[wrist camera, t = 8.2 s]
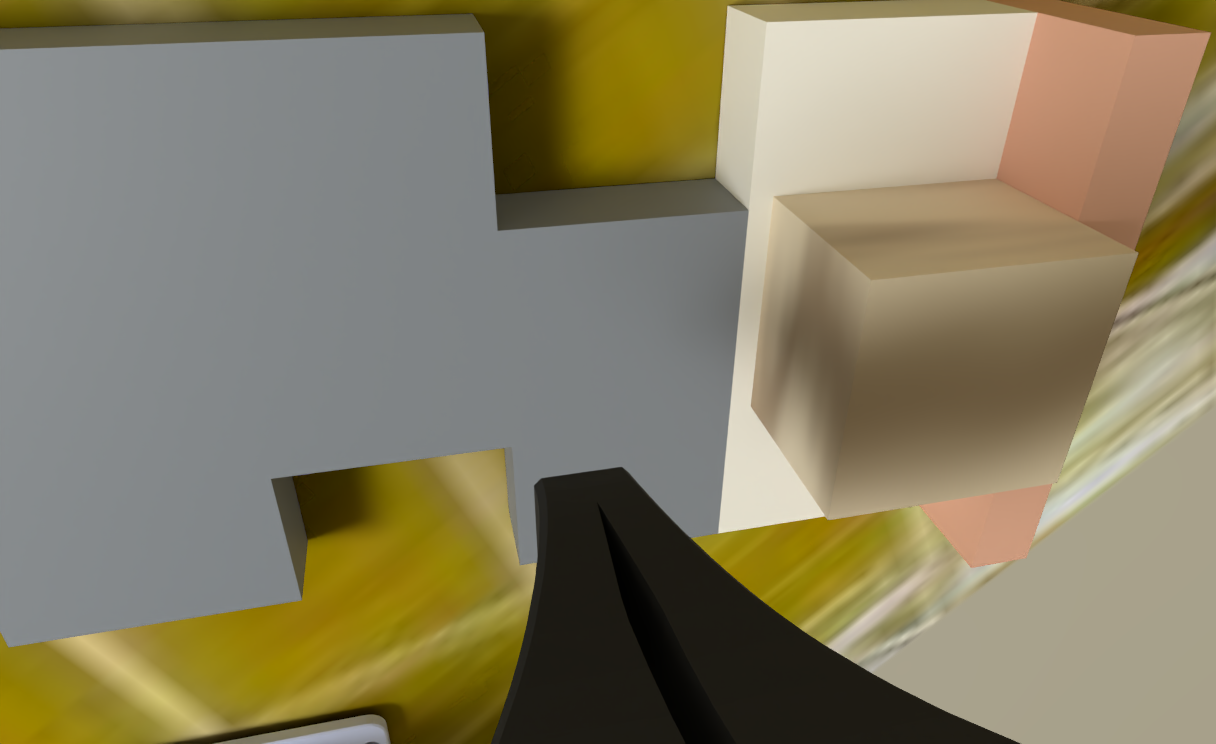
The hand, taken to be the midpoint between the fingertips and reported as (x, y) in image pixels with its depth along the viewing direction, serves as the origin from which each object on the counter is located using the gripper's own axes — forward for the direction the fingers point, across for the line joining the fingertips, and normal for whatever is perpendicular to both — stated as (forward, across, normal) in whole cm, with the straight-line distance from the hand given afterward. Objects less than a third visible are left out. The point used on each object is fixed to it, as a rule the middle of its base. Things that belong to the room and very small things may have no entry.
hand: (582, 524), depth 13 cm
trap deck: (+8, 0, 0) cm, 8 cm away
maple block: (+6, -8, 0) cm, 9 cm away
